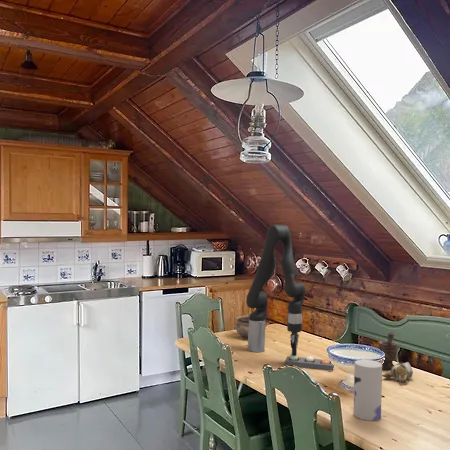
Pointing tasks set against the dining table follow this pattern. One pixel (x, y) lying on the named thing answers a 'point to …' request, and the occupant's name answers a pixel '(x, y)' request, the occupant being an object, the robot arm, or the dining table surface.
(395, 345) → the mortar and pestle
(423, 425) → the dining table surface
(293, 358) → the sage button
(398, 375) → the ceramic sculpture
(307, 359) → the cream button
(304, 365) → the control strip
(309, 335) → the dining table surface
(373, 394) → the container
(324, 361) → the terracotta button
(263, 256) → the robot arm
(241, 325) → the cooking pot
